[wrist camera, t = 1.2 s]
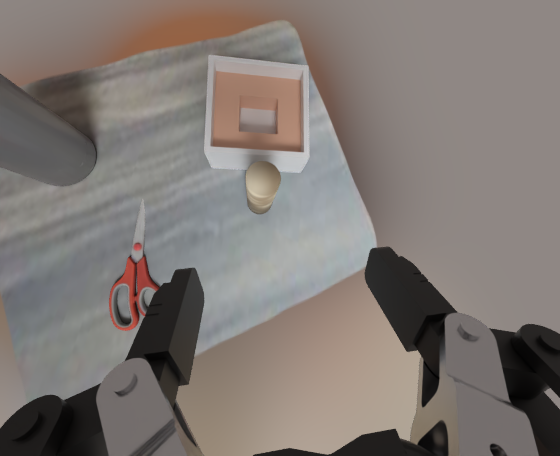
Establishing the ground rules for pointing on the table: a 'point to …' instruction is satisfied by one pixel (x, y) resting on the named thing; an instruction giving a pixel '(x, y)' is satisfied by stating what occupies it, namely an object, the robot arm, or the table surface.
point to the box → (256, 114)
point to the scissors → (133, 278)
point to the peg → (261, 186)
